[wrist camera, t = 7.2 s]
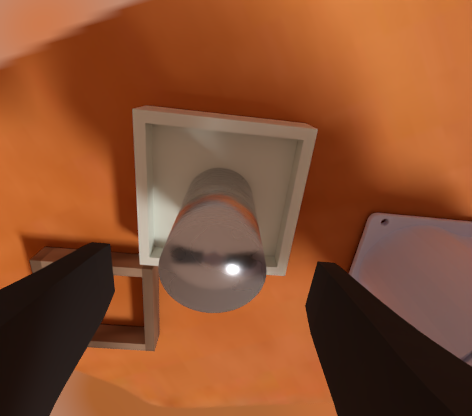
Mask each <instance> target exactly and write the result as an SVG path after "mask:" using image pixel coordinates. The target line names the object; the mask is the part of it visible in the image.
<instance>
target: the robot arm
mask: <svg viewBox="0 0 472 416" xmlns="http://www.w3.org/2000/svg"><path fill="white" fill-rule="evenodd" d="M383 219H386V220H385V222H383V223H381V221H382V220H383ZM114 292H115V288H114V277H113V267H112V257H111V247H110V244H106V243H94V242H92V243H89V244H87V245H85V246H83V247H81V248H79V249H77V250H75V251H73V252H71V253H70V254H68V255H66V256H64V257H62V258H60V259H59V260H57V261H55V262H53V263H51V264H49V265H47V266H46V267H44V268H42V269H40V270H38V271H36V272H34V273H32V274H31V275H29V276H27V277H25V278H23V279H21V280H19V281H17V282H15V283H13V284H11V285H9V286H7V287H5V288H2V289H0V416H49V415H50V413H51V411H52V409H53V407H54V405H55V403H56V401H57V399H58V397H59V395H60V393H61V391H62V390H63V388H64V386H65V384H66V382H67V381H68V379H69V377H70V376H71V374H72V372H73V370H74V369H75V367H76V365H77V364H78V362H79V360H80V358H81V357H82V355H83V353H84V352H85V350H86V348H87V346H88V345H89V343H90V341H91V339H92V338H93V336H94V334H95V333H96V331H97V329H98V327H99V325H100V324H101V322H102V320H103V318H104V316H105V314H106V311H107V309H108V307H109V304H110V302H111V299H112V297H113V294H114ZM305 306H306V312H307V317H308V323H309V327H310V332H311V336H312V339H313V342H314V345H315V348H316V351H317V354H318V357H319V360H320V363H321V366H322V369H323V372H324V375H325V378H326V381H327V384H328V387H329V390H330V393H331V396H332V399H333V402H334V405H335V409H336V412H337V415H338V416H472V221H462V220H451V219H440V218H430V217H419V216H408V215H398V214H387V213H373V214H371V215H370V216H369V217H368V220H367V223H366V225H365V228H364V231H363V234H362V237H361V240H360V243H359V246H358V249H357V251H356V254H355V257H354V260H353V263H352V266H351V269H350V272H349V274H348V273H347V272H346V271H344V270H343V269H342V268H341V267H339V266H338V265H337V264H335V263H329V262H317V266H316V269H315V273H314V277H313V280H312V284H311V287H310V291H309V294H308V298H307V302H306V305H305Z"/></svg>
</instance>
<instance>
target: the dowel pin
mask: <svg viewBox="0 0 472 416" xmlns="http://www.w3.org/2000/svg"><path fill="white" fill-rule="evenodd" d="M158 271H159V277H160V280H161V283H162V285H163V287H164V288H165V290H166V291H167V293H168V294H169V295H170V296H171V297H172V298H173V299H174V300H176V301H177V302H178V303H180V304H182V305H183V306H185V307H188V308H190V309H193V310H196V311H200V312H206V313H221V312H227V311H231V310H235V309H237V308H240V307H242V306H243V305H245V304H247V303H248V302H250V301H251V300H252V299H253V298H254V297H255V296H256V295H257V294H258V293H259V291H260V290H261V288H262V286H263V284H264V282H265V278H266V272H267V271H266V262H265V257H264V251H263V246H262V241H261V236H260V231H259V226H258V220H257V215H256V210H255V205H254V200H253V195H252V190H251V187H250V186H249V184H248V182H247V181H246V180H245V178H244V177H242V176H241V175H240V174H239V173H237V172H235V171H233V170H230V169H226V168H212V169H208V170H206V171H204V172H202V173H200V174H199V175H197V176H196V177H195V178H194V179H193V181H192V182H191V184H190V186H189V188H188V191H187V193H186V195H185V198H184V200H183V203H182V205H181V207H180V210H179V212H178V215H177V217H176V219H175V222H174V224H173V227H172V229H171V231H170V234H169V236H168V239H167V241H166V244H165V246H164V248H163V251H162V253H161V256H160V259H159V265H158Z"/></svg>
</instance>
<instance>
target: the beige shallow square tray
mask: <svg viewBox="0 0 472 416" xmlns="http://www.w3.org/2000/svg"><path fill="white" fill-rule="evenodd" d="M132 115H133V135H134V156H135V177H136V197H137V218H138V239H139V259H140V265H151V266H158V265H159V259H160V256H161V253H162V251H163V248H164V246H165V244H166V241H167V239H168V236H169V234H170V231H171V229H172V227H173V224H174V222H175V219H176V217H177V215H178V212H179V210H180V207H181V205H182V203H183V200H184V198H185V195H186V193H187V191H188V188H189V186H190V184H191V182H192V181H193V179H194V178H195V177H196V176H197V175H199V174H200V173H202V172H204V171H206V170H208V169H212V168H226V169H230V170H233V171H235V172H237V173H239V174H240V175H241V176H242V177H244V178H245V180H246V181H247V182H248V184H249V186H250V187H251V190H252V195H253V200H254V205H255V210H256V215H257V220H258V226H259V231H260V236H261V241H262V246H263V251H264V257H265V262H266V271H267V272H266V275H279V276H285V273H286V269H287V264H288V260H289V255H290V251H291V247H292V242H293V238H294V233H295V229H296V225H297V220H298V216H299V211H300V207H301V202H302V198H303V194H304V189H305V185H306V180H307V176H308V171H309V167H310V163H311V158H312V154H313V149H314V145H315V141H316V136H317V132H318V129H316V128H314V127H313V126H311V125H309V124H307V123H300V122H291V121H282V120H273V119H264V118H255V117H246V116H237V115H228V114H219V113H210V112H202V111H193V110H184V109H175V108H166V107H157V106H148V105H146V106H142V107H137V108H133V109H132Z"/></svg>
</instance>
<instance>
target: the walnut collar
mask: <svg viewBox="0 0 472 416" xmlns="http://www.w3.org/2000/svg"><path fill="white" fill-rule="evenodd" d="M75 250H77V249H67V248H55V247H44V248H43V249H42V250H40V251H39V252H38V253H37V254H36V255H35V256H34V257H32V258H31V259H30V260H29V261H30V265H31V269H32V273H34V272H36V271H38V270H40V269H42V268H44V267H46V266H47V265H49V264H51V263H53V262H55V261H57V260H59V259H60V258H62V257H64V256H66V255H68V254H70V253H71V252H73V251H75ZM111 257H112V267H113V275H119V276H132V277H142V285H143V307H144V327H135V326H120V325H105V324H100V325H99V327H98V329H97V331H96V333H95V334H94V336H93V338H92V339H91V341H90V343H89V345H88V346H87V347H94V348H110V349H127V350H144V351H155V348H156V344H157V341H158V337H159V271H158V266H151V265H140V259H139V254H129V253H117V252H111Z"/></svg>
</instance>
